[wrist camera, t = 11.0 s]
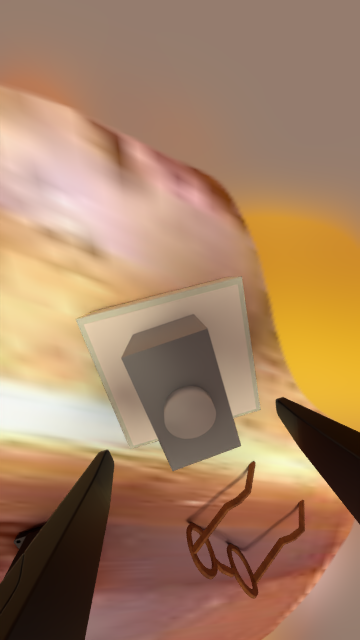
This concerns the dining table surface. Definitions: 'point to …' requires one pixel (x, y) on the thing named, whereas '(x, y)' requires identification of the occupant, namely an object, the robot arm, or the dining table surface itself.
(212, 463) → the dining table surface
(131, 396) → the stand
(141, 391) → the block
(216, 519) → the glasses
